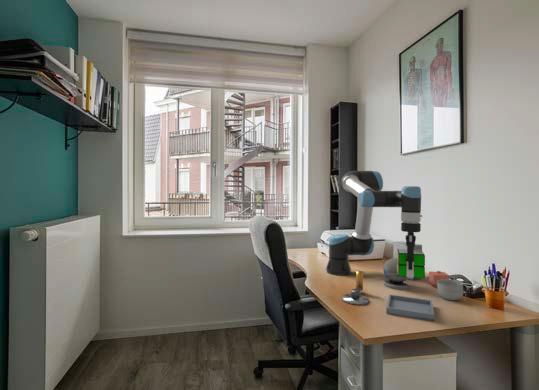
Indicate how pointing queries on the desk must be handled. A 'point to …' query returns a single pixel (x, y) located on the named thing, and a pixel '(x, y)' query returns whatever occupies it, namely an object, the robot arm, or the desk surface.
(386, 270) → the webcam
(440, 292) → the teacup
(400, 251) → the puzzle cube
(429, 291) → the desk surface
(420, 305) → the tray
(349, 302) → the crank base
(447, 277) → the pink cube teapot
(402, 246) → the hard drive box
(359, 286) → the crank lever
